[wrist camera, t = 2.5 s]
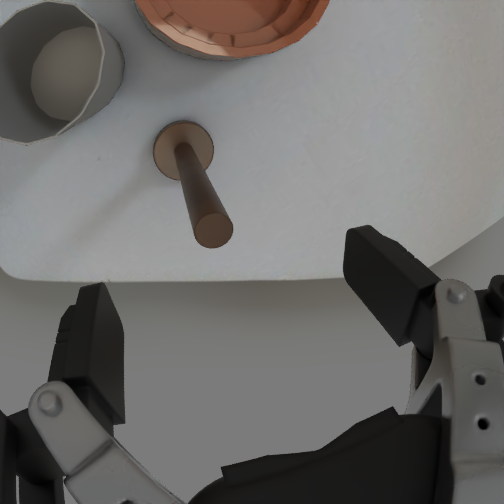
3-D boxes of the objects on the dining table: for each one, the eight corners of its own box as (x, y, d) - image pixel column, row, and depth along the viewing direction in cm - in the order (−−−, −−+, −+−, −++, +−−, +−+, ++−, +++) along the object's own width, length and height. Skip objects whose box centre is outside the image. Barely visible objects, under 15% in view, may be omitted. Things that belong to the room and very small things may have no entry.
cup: (22, 54, 17) (-37, 50, 8) (109, 10, 18) (84, -25, 9) (50, 137, 21) (1, 169, 13) (136, 97, 22) (122, 105, 14)
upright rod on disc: (145, 166, 26) (137, 268, 12) (166, 112, 24) (176, 152, 11) (198, 182, 28) (243, 292, 15) (220, 131, 26) (293, 195, 13)
